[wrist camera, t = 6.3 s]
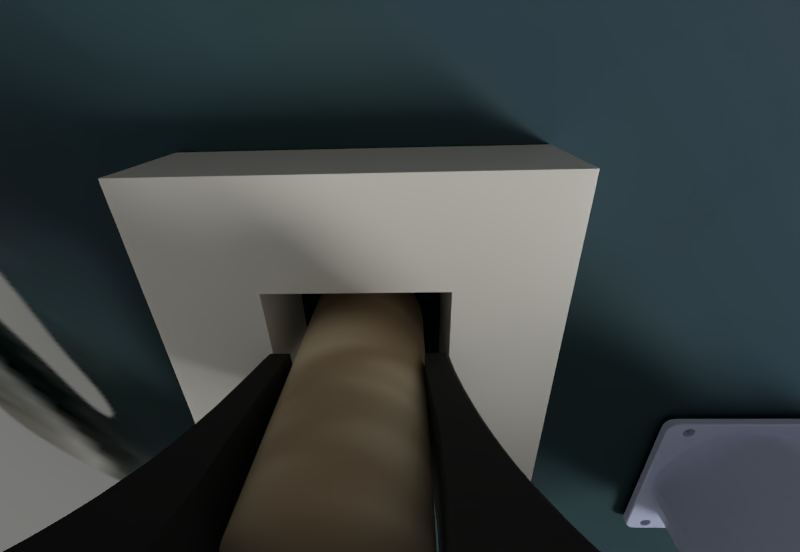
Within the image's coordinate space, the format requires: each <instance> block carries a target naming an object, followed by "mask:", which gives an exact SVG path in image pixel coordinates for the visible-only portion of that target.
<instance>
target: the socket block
mask: <svg viewBox="0 0 800 552" xmlns="http://www.w3.org/2000/svg"><path fill="white" fill-rule="evenodd" d="M599 170H600V168H597V167H595V166H593V165H591V164H589V163H587V162H585V161H583V160H581V159H579V158H577V157H575V156H573V155H571V154H569V153H567V152H565V151H563V150H561V149H558V148H556V147H554V146H552V145H550V144H546V145H500V146H454V147H408V148H362V149H316V150H270V151H224V152H178V153H173V154H170V155H167V156H164V157H161V158H158V159H155V160H152V161H149V162H146V163H143V164H140V165H137V166H134V167H131V168H128V169H125V170H122V171H119V172H116V173H113V174H110V175H107V176H104V177H101V178H98V180H99V183H100V185H101V188H102V190H103V193H104V195H105V198H106V200H107V203H108V205H109V208H110V210H111V213H112V215H113V218H114V220H115V223H116V225H117V228H118V230H119V233H120V235H121V238H122V240H123V243H124V246H125V248H126V251H127V253H128V256H129V258H130V261H131V263H132V266H133V268H134V271H135V273H136V276H137V278H138V281H139V283H140V286H141V288H142V291H143V293H144V296H145V298H146V301H147V303H148V306H149V308H150V311H151V313H152V316H153V318H154V321H155V323H156V326H157V328H158V331H159V334H160V336H161V339H162V341H163V344H164V346H165V349H166V351H167V354H168V356H169V359H170V361H171V364H172V366H173V369H174V371H175V374H176V376H177V379H178V381H179V384H180V386H181V389H182V391H183V394H184V396H185V399H186V401H187V404H188V406H189V409H190V411H191V414H192V416H193V419H194V421H195V424H196V423H197V422H198V421H199V420H200V419H202V418H203V417H204V416H205V415H206V414H207V413H208V412H210V411H211V410H212V409H213V408H214V407H215V406H216V405H217V404H219V403H220V402H221V401H222V400H223V399H224V398H225V397H226V396H227V395H228V394H229V393H230V392H231V391H232V390H233V389H234V388H235V387H236V386H237V385H238V384H239V383H240V382H242V381H243V380H244V379H245V378H246V377H247V376H248V375H249V374H250V373H251V372H252V371H253V370H254V369H255V368H256V367H257V366H258V365H259V364H260V363H261V362H262V361H263V360H264V359H265V358H266V357H267V356H268V355H269V354H290V355H291V360H292V364H293V362H294V360H295V357H296V355H297V352H298V350H299V347H300V345H301V342H302V340H303V337H304V335H305V332H306V330H307V324H306V318H305V312H304V306H303V301H302V295H301V294H320V293H415V292H441V298H440V330H439V353H446V354H448V355H449V357H450V360H451V362H452V365H453V367H454V369H455V372H456V374H457V376H458V378H459V380H460V382H461V383H462V385H463V387H464V389H465V391H466V393H467V394H468V396H469V398H470V399H471V401H472V403H473V404H474V406H475V408H476V409H477V411H478V413H479V414H480V416H481V417H482V419H483V420H484V422H485V423H486V425H487V426H488V428H489V429H490V431H491V432H492V433H493V435H494V436H495V438H496V439H497V440H498V442H499V443H500V444H501V446H502V447H503V448H504V450H505V451H506V452H507V454H508V455H509V456H510V457H511V459H512V460H513V461H514V462H515V464H516V465H517V466H518V467H519V468H520V470H521V471H522V472H523V473H524V474H525V475H526V477H527V478H528V479H529V480H530V481H531V478H532V474H533V469H534V465H535V460H536V455H537V451H538V446H539V442H540V437H541V433H542V428H543V424H544V419H545V415H546V410H547V406H548V401H549V397H550V392H551V387H552V383H553V378H554V374H555V369H556V365H557V360H558V356H559V351H560V347H561V342H562V338H563V333H564V328H565V324H566V319H567V315H568V310H569V306H570V301H571V297H572V292H573V288H574V283H575V279H576V274H577V270H578V265H579V260H580V256H581V251H582V247H583V242H584V238H585V233H586V229H587V224H588V220H589V215H590V211H591V206H592V201H593V197H594V192H595V188H596V183H597V179H598V174H599Z"/></svg>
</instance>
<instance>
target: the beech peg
mask: <svg viewBox="0 0 800 552" xmlns="http://www.w3.org/2000/svg"><path fill="white" fill-rule="evenodd" d="M219 552H437V551H436V534H435V516H434V499H433V482H432V465H431V448H430V431H429V414H428V405H427V395H426V381H425V346H424V329H423V314H422V309H421V307H420V304H419V302H418V300H417V298H416V297H415V295H414V294H413V293H322V295H321V296H320V298H319V300H318V303H317V305H316V308H315V310H314V313H313V315H312V318H311V320H310V322H309V325H308V327H307V330H306V332H305V335H304V337H303V340H302V342H301V345H300V347H299V350H298V352H297V355H296V357H295V360H294V362H293V364H292V367H291V369H290V372H289V374H288V377H287V379H286V382H285V384H284V387H283V389H282V392H281V394H280V397H279V399H278V402H277V404H276V407H275V409H274V411H273V414H272V416H271V419H270V421H269V424H268V426H267V429H266V431H265V434H264V436H263V439H262V441H261V444H260V446H259V449H258V451H257V454H256V456H255V458H254V461H253V463H252V466H251V468H250V471H249V473H248V476H247V478H246V481H245V483H244V486H243V488H242V491H241V493H240V496H239V498H238V500H237V503H236V505H235V508H234V510H233V513H232V515H231V518H230V520H229V523H228V525H227V528H226V530H225V533H224V535H223V538H222V540H221V544H220V548H219Z"/></svg>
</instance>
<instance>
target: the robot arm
mask: <svg viewBox="0 0 800 552" xmlns="http://www.w3.org/2000/svg"><path fill="white" fill-rule="evenodd" d="M291 367H292V360H291V355H290V354H269V355H268V356H267V357H266V358H265V359H264V360H263V361H262V362H261V363H260V364H259V365H258V366H257V367H256V368H255V369H254V370H253V371H252V372H251V373H250V374H249V375H248V376H247V377H246V378H245V379H244V380H243V381H242V382H240V383H239V384H238V385H237V386H236V387H235V388H234V389H233V390H232V391H231V392H230V393H229V394H228V395H227V396H226V397H225V398H224V399H223V400H222V401H221V402H220V403H219V404H217V405H216V406H215V407H214V408H213V409H212V410H211V411H210V412H208V413H207V414H206V415H205V416H204V417H203V418H202V419H200V420H199V421H198V422H197V423H196V424H195V425H194V426H193V427H191V428H190V429H189V430H188V431H187V432H186V433H184V434H183V435H182V436H181V437H179V438H178V439H177V440H176V441H174V442H173V443H172V444H171V445H169V446H168V447H167V448H165V449H164V450H163V451H162V452H160V453H159V454H158V455H156V456H155V457H154V458H152V459H151V460H150V461H148V462H147V463H146V464H144V465H143V466H141V467H140V468H139V469H137V470H136V471H134V472H133V473H131V474H130V475H128V476H127V477H125V478H124V479H122V480H121V481H119V482H118V483H116V484H115V485H114V486H112V487H111V488H109V489H108V490H106V491H105V492H103V493H102V494H100V495H99V496H97V497H96V498H94V499H93V500H91V501H89V502H88V503H86V504H84V505H83V506H82V507H80V508H78V509H77V510H75V511H73V512H72V513H70V514H68V515H67V516H65V517H63V518H62V519H60V520H58V521H57V522H55V523H53V524H51V525H50V526H48V527H46V528H45V529H43V530H41V531H40V532H38V533H36V534H34V535H33V536H31V537H29V538H27V539H26V540H24V541H22V542H20V543H18V544H17V545H14V546H13V547H11V548H9V549H7V550H5V551H3V552H219V548H220V544H221V540H222V538H223V535H224V533H225V530H226V528H227V525H228V523H229V520H230V518H231V515H232V513H233V510H234V508H235V505H236V503H237V500H238V498H239V496H240V493H241V491H242V488H243V486H244V483H245V481H246V478H247V476H248V473H249V471H250V468H251V466H252V463H253V461H254V458H255V456H256V454H257V451H258V449H259V446H260V444H261V441H262V439H263V436H264V434H265V431H266V429H267V426H268V424H269V421H270V419H271V416H272V414H273V411H274V409H275V407H276V404H277V402H278V399H279V397H280V394H281V392H282V389H283V387H284V384H285V382H286V379H287V377H288V374H289V372H290V369H291ZM425 381H426V395H427V405H428V414H429V431H430V448H431V465H432V482H433V495H434V503H435V510H436V519H437V529H438V544H439V552H600V551H599V550H598V549H597V548H596V547H595V546H593V545H592V544H591V543H590V542H589V541H588V540H587V539H586V538H585V537H584V536H583V535H582V534H581V533H580V532H579V531H578V530H577V529H576V528H575V527H574V526H573V525H572V524H570V523H569V522H568V521H567V520H566V519H565V518H564V517H563V515H562V514H561V513H560V512H559V511H558V510H557V509H556V508H555V507H554V506H553V505H552V504H551V503H550V502H549V501H548V500H547V499H546V498H545V496H544V495H543V494H542V493H541V492H540V491H539V490H538V489H537V488H536V487H535V486H534V485H533V484H532V483H531V481H530V480H529V479H528V478H527V477H526V475H525V474H524V473H523V472H522V471H521V470H520V468H519V467H518V466H517V465H516V464H515V462H514V461H513V460H512V459H511V457H510V456H509V455H508V454H507V452H506V451H505V450H504V448H503V447H502V446H501V444H500V443H499V442H498V440H497V439H496V438H495V436H494V435H493V433H492V432H491V431H490V429H489V428H488V426H487V425H486V423H485V422H484V420H483V419H482V417H481V416H480V414H479V413H478V411H477V409H476V408H475V406H474V404H473V403H472V401H471V399H470V398H469V396H468V394H467V393H466V391H465V389H464V387H463V385H462V383H461V382H460V380H459V378H458V376H457V374H456V372H455V369H454V367H453V365H452V362H451V360H450V357H449V355H448V354H446V353H425ZM623 519H624V521H625V523H626V525H627V526H630V527H652V528H666V529H667V530H668V532H669V534H670V536H671V537H672V539H673V541H674V543H675V544H676V546H677V548H678V550H679V552H800V419H671V420H668V421H666V422H665V423H664V424H663V425H662V427H661V430H660V432H659V434H658V437H657V439H656V441H655V443H654V446H653V448H652V450H651V453H650V455H649V457H648V460H647V462H646V464H645V467H644V469H643V471H642V473H641V476H640V478H639V480H638V483H637V485H636V487H635V490H634V492H633V494H632V497H631V499H630V501H629V504H628V506H627V508H626V510H625V513H624V515H623Z"/></svg>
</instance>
